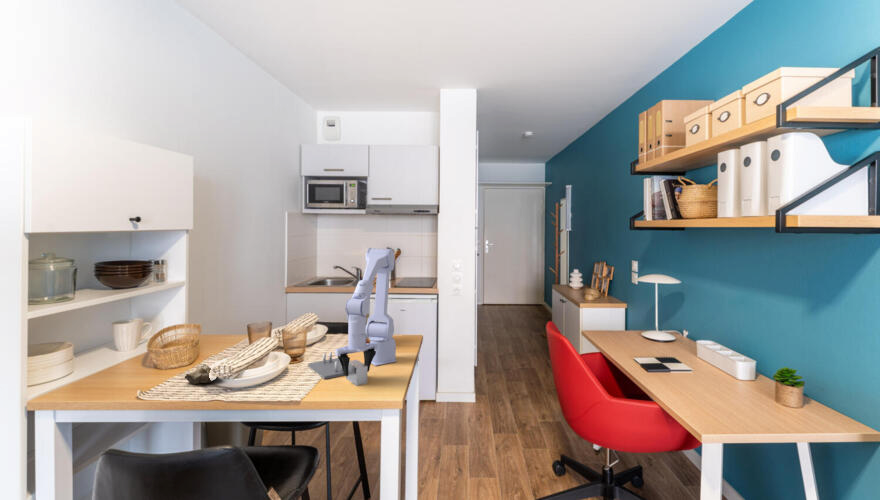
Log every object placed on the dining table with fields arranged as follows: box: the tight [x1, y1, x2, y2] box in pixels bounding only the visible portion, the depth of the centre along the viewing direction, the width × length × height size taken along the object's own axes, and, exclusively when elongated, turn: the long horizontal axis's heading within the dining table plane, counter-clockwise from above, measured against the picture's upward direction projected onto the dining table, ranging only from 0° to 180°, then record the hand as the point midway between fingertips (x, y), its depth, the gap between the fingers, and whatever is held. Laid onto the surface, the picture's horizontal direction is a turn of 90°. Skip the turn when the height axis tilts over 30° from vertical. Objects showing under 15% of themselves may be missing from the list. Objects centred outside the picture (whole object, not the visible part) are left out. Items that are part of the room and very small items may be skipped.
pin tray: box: [307, 351, 345, 381], centre depth 149 cm, size 13×16×4 cm
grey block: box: [345, 359, 368, 387], centre depth 138 cm, size 4×8×6 cm, turn 37°
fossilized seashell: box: [184, 363, 213, 385], centre depth 135 cm, size 8×7×10 cm
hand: (356, 373), depth 138 cm, fingers open, 7 cm apart
